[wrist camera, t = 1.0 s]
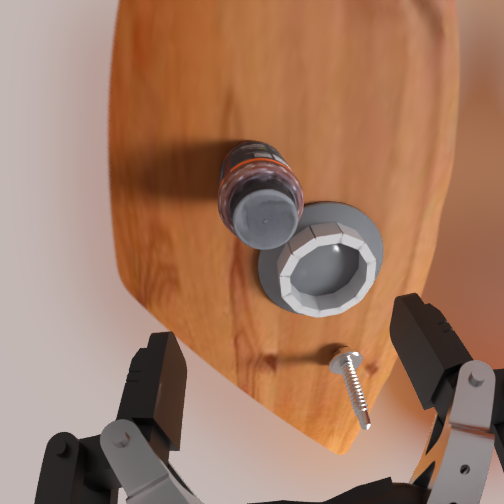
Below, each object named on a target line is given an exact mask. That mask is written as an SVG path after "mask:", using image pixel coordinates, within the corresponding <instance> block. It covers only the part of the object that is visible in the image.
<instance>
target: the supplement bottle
mask: <svg viewBox="0 0 504 504" xmlns="http://www.w3.org/2000/svg"><path fill="white" fill-rule="evenodd" d="M303 206H304V196H303V191H302V187H301V185H300V183H299V181H298V179H297V178H296V176H295V175H294V173H293V172H292V170H291V169H290V167H289V166H288V165H287V163H286V161H285V160H284V159H283V157H282V156H281V154H280V153H279V152H278V151H277V150H276V149H275V148H273V147H272V146H270V145H269V144H267V143H263V142H259V141H248V142H244V143H241V144H239V145H237V146H235V147H234V148H233V149H231V150H230V151H229V152H228V154H227V155H226V156H225V158H224V160H223V163H222V166H221V171H220V180H219V188H218V210H219V214H220V217H221V219H222V221H223V223H224V224H225V226H226V227H227V228H228V229H229V230H230V231H231V232H232V233H233V234H234V235H236V236H237V237H238V238H239V239H240V240H241V241H242V242H243V243H245V244H246V245H248V246H250V247H252V248H255V249H260V250H268V249H274V248H276V247H279V246H281V245H283V244H284V243H286V242H287V241H288V240H289V239H290V238H291V237H292V236H293V234H294V233H295V231H296V228H297V225H298V221H299V219H300V217H301V214H302V211H303Z"/></svg>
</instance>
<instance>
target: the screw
mask: <svg viewBox="0 0 504 504" xmlns="http://www.w3.org/2000/svg"><path fill="white" fill-rule="evenodd" d="M333 355H334V357H333V358H332V359H331V361H330V362H329V369H330V371H331V372H333V373H335V374H343V377H344V380H345V384H346V387H347V390H348V391H349V392H348V394H349V395H350V396H349V397H350V398H351V402H352V406H353V409H354V412H355V413H356V416H358V419H359V422H360V425H361V427H362V429H368V428H369V427H370V426H371V422H370V418H369V415H368V412H367V411H368V408H367V406H368V405H367V404H366V400H364V399H365V397H363V395H364V393H362V392H363V390H362V389H361V388H362V387H361V386H360V382H359V379H357V378H358V376H357V373H356V372H355V371H356V370H355V369H357V368H358V367H359V365H360V364H361V362H362V359H363V358H362V355H361V353H360V352H358V351H355V350H350V348H349V347H341V348H338V349H337V351H336V352H335V353H334V354H333Z"/></svg>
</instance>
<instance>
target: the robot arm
mask: <svg viewBox="0 0 504 504" xmlns="http://www.w3.org/2000/svg"><path fill="white" fill-rule="evenodd" d="M390 337H391V341H392V343H393V345H394V347H395V349H396V351H397V353H398V355H399V357H400V359H401V361H402V363H403V366H404V367H405V370H406V372H407V374H408V376H409V378H410V380H411V382H412V384H413V387H414V389H415V391H416V393H417V395H418V398H419V400H420V402H421V404H422V406H423V409H424V410H426V409H429V408H432V407H435V409H436V411H437V413H436V414H435V417H434V420H433V424H432V427H431V430H430V434H429V437H428V440H427V443H426V446H425V449H424V451H423V454H422V457H421V460H420V462H419V464H418V465H417V467H416V469H415V471H414V473H413V475H412V477H411V479H410V481H409V484H408V483H392V480H391V477H388V478H385V479H381V480H378V481H374V482H371V483H368V484H364V485H360V486H357V487H355V488H353V489H351V490H349V491H347V492H344V493H342V494H340V495H338V496H336V497H334V498H332V499H329V500H327V501H324V502H299V501H286V500H281V501H272V502H262V503H249V504H479V503H480V499H481V496H482V492H483V489H484V485H485V482H486V478H487V474H488V470H489V466H490V461H491V457H492V452H493V446H494V447H495V449H496V452H497V455H498V457H499V460H500V463H501V465H502V469H503V472H504V369H495V370H492V369H491V368H490V366H488V365H487V364H486V363H484V362H482V361H477V360H473V358H472V357H471V355H470V354H469V352H468V351H467V349H466V348H465V346H464V345H463V343H462V342H461V340H460V339H459V337H458V336H457V334H456V333H455V331H453V330H452V327H451V326H450V324H449V323H447V320H446V319H445V317H444V316H443V314H442V313H441V312H440V310H438V309H437V308H435V307H434V306H432V305H431V304H429V303H428V304H424V303H423V301H422V300H421V298H420V297H419V296H418V294H417V293H411V294H407V295H402V296H398V297H396V298H395V301H394V307H393V313H392V318H391V323H390ZM186 379H187V367H186V361H185V358H184V356H183V354H182V351H181V349H180V347H179V344H178V342H177V340H176V337H175V335H174V333H173V332H172V331H170V332H160V333H152V334H151V336H150V338H149V342H148V346H147V348H140V349H139V351H138V352H137V353H136V354H135V356H134V357H133V358H132V361H131V364H130V368H129V373H128V375H127V379H126V383H125V387H124V390H123V394H122V398H121V403H120V406H119V410H118V414H117V418H116V420H115V421H113V422H111V423H110V424H108V425H107V426H106V427H105V428H104V429H103V431H102V433H101V434H100V435H97V436H92V437H87V438H83V439H77V438H76V437H75V436H74V435H72V434H71V433H68V432H60V433H58V434H56V435H54V436H53V437H52V438H51V439H50V440H49V442H48V444H47V446H46V450H45V454H44V458H43V463H42V467H41V472H40V477H39V481H38V486H37V492H36V497H35V503H34V504H117V502H118V490H119V488H121V487H123V488H124V490H125V492H126V494H127V496H128V498H127V499H126V503H127V504H203V502H201V500H200V499H199V498H198V497H197V496H196V495H195V494H194V492H193V491H192V490H191V489H190V488H189V486H188V485H187V484H186V483H185V482H184V480H183V479H182V478H181V476H180V475H179V474H178V472H177V471H176V470H175V469H174V467H173V466H172V465H171V463H170V462H169V461H168V459H169V451H179V450H180V439H181V428H182V418H183V408H184V397H185V388H186Z"/></svg>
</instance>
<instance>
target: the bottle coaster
mask: <svg viewBox="0 0 504 504" xmlns="http://www.w3.org/2000/svg"><path fill="white" fill-rule="evenodd" d="M382 261H383V242H382V238H381V235H380V233H379V231H378V229H377V227H376V226H375V224H374V223H373V222H372V221H371V220H370V218H369V217H368V216H367V215H366V214H364V213H363V212H362V211H360V210H359V209H357V208H355V207H353V206H351V205H348V204H345V203H340V202H332V201H325V202H316V203H311V204H308V205H305V206H303V211H302V214H301V217H300V219H299V221H298V225H297V228H296V231H295V233H294V234H293V236H292V237H291V238H290V239H289V240H288V241H287V242H286V243H284V244H283V245H281V246H279V247H276V248H274V249H268V250H260V252H259V256H258V273H259V279H260V283H261V285H262V287H263V290H264V291H265V293H266V294H267V296H268V297H269V298H270V299H271V300H272V301H273V302H274V303H275V304H277V305H278V306H280V307H281V308H283V309H285V310H287V311H290V312H293V313H296V314H302V315H309V316H312V317H316V318H317V317H318V318H319V317H325V316H330V315H336V314H340V312H341V313H343V312H344V311H346V310H347V309H349V308H351V307H352V306H354V305H355V304H357V303H358V302H360V300H362V299H363V298H364V296H365V295H366V293H367V292H368V290H369V289H370V287H371V286H372V284H373V283H374V281H375V279H376V277H377V276H378V273H379V271H380V268H381V265H382Z"/></svg>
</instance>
